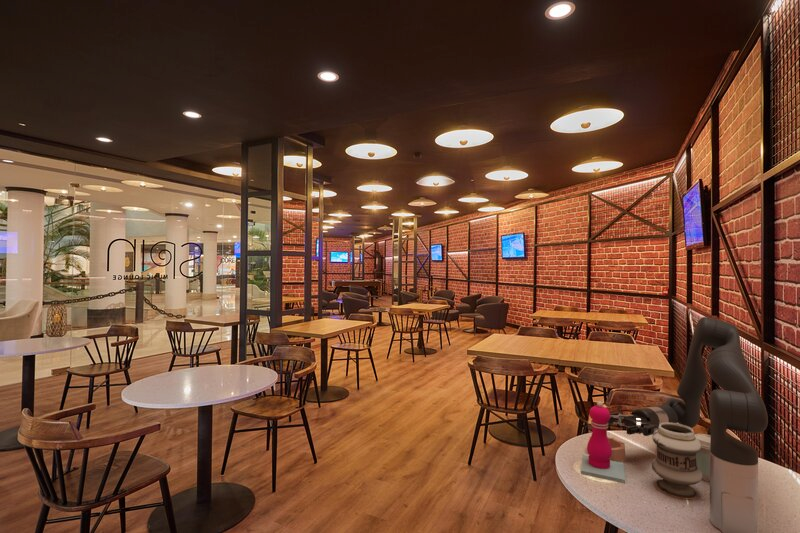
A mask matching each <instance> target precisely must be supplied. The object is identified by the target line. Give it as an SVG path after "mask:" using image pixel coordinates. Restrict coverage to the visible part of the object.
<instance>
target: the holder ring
mask: <svg viewBox="0 0 800 533" xmlns="http://www.w3.org/2000/svg"><path fill="white" fill-rule="evenodd" d="M590 438H591V436H588V441H589V440H590ZM607 438H608V441H609V443H610V446H611V449H612V456H611V457H610V458H609V460H611V461H616V462H618V461H619V462H624V460H625V461H626V447H625V446H626V445H625V442H622V440H618V439H617V438H615V437H610V436H607Z"/></svg>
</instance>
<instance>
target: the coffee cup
mask: <svg viewBox="0 0 800 533" xmlns="http://www.w3.org/2000/svg"><path fill="white" fill-rule="evenodd" d="M694 435H695V437H696V438H697V439H698V440H699V441H700V443H701V450H700V451H699V452H697V453H696V464H697V467H698V468H699V469H700V471H701V473H702V479H701V480H703V481H706V482H709V483H710V441H711V434H707V433H696V434H695V433H694Z"/></svg>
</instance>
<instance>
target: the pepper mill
mask: <svg viewBox="0 0 800 533" xmlns="http://www.w3.org/2000/svg"><path fill="white" fill-rule="evenodd" d="M610 413H611V412H610V411H609V410H608V408H606V407H604V403H603V402H602V401H601V400H600V401H597V402H596V405H594V406H592V407H591V408H590V409H589V414H588V415H589V417H590V419H591V420H590V422H591V423H590V426H591V427H592V431H591V432H592V433H591V436H590V437H591V438H590V440H589V439H588V442H587V444H586V451H587V453H588V456H589V457H588V462H589V464H590V465H592V466H594V467H596V468H601V469H606V468H609V467H610V460H609V458H610V457H611V456H612V449H611V446H610V443H609V441H608V438H607V437H608V434H607V432H608V431H607V429H608V428H609V425H608V421H609V420H610Z"/></svg>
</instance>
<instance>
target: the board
mask: <svg viewBox="0 0 800 533" xmlns="http://www.w3.org/2000/svg"><path fill="white" fill-rule="evenodd" d="M589 456H590V455H586V454H585V455H584V454H582V461H581V467H580V474H581V475H585V476H590V477H594V478H598V479H603V480H608V481H613V482H617V483H620V484H621V483H622V484H626V474H625V464H624V462H622V461H619V462H616V461H611V460H610V467H609V468H606V469H601V468H596V467H594V466H592V465H590V464H589V462H588V457H589Z"/></svg>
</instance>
